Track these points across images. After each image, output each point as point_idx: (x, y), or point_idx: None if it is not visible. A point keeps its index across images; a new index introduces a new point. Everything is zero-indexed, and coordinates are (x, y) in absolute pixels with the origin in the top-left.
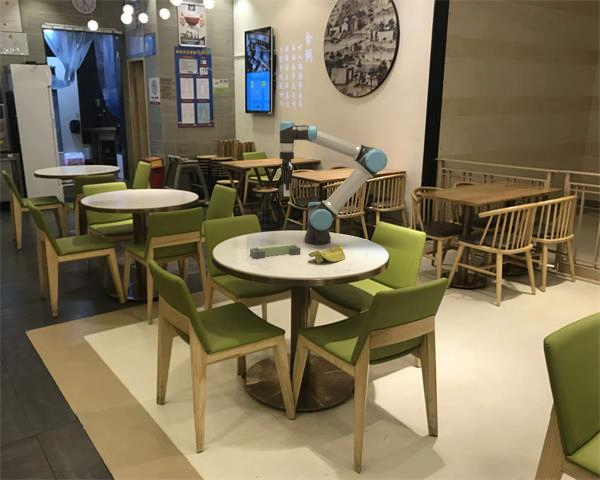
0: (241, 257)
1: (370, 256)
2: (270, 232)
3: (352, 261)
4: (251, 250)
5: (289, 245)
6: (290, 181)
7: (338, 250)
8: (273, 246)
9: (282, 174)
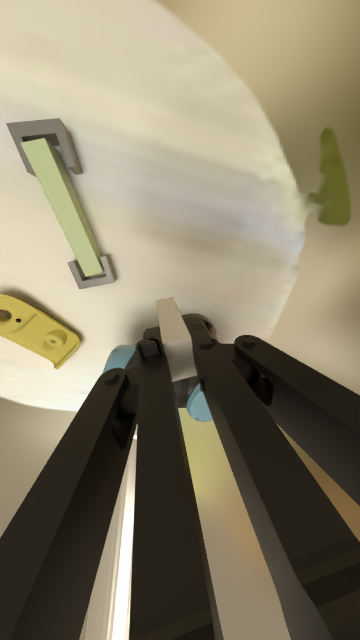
0: (36, 83)
1: (76, 396)
2: (293, 258)
3: (35, 368)
4: (44, 121)
5: (79, 262)
6: (118, 416)
7: (60, 360)
8: (63, 210)
9: (322, 412)
